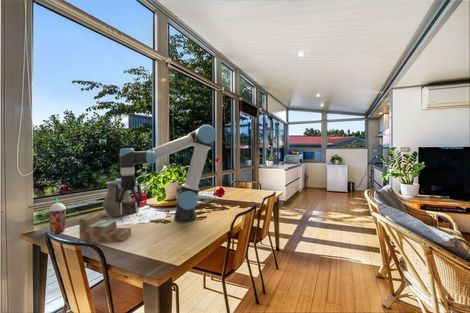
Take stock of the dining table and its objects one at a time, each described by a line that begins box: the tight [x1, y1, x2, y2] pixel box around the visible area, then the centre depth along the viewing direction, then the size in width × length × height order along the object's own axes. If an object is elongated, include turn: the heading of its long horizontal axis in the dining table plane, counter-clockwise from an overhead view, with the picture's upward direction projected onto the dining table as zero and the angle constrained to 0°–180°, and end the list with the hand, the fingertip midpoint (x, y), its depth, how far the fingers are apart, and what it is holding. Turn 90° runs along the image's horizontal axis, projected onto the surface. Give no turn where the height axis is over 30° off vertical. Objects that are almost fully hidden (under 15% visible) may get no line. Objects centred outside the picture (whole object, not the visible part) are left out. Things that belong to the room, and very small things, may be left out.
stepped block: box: [78, 213, 132, 243], centre depth 126 cm, size 22×10×12 cm, turn 92°
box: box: [122, 199, 137, 216], centre depth 138 cm, size 6×6×7 cm
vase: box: [102, 180, 133, 218], centre depth 172 cm, size 20×19×25 cm
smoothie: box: [48, 197, 67, 234], centre depth 137 cm, size 8×8×20 cm
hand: (129, 213), depth 138 cm, fingers closed on box, 8 cm apart
